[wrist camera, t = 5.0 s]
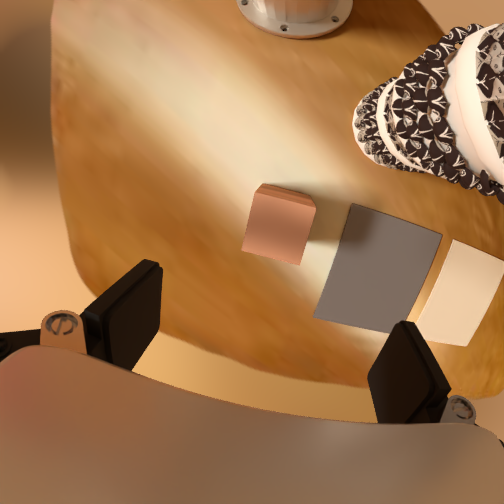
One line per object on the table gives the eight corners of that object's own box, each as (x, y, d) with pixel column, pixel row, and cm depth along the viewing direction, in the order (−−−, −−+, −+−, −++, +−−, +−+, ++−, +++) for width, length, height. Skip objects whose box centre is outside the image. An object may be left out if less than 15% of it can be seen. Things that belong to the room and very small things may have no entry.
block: (262, 183, 29) (254, 192, 22) (310, 195, 28) (316, 208, 22) (251, 228, 30) (241, 250, 24) (297, 240, 30) (299, 265, 24)
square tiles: (352, 203, 28) (352, 203, 28) (507, 262, 27) (507, 263, 27) (313, 316, 33) (313, 317, 33) (465, 345, 32) (466, 346, 32)
